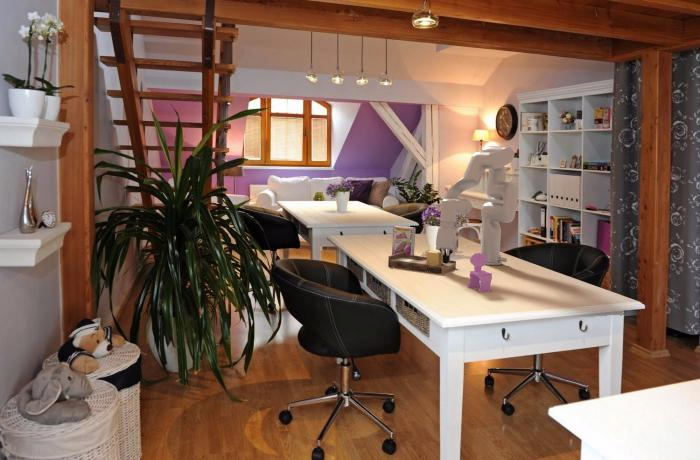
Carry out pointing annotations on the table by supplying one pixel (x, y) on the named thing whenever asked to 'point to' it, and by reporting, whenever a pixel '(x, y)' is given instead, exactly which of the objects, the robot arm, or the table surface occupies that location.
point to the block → (434, 258)
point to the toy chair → (479, 273)
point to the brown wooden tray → (418, 263)
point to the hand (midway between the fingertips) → (445, 263)
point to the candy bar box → (403, 240)
